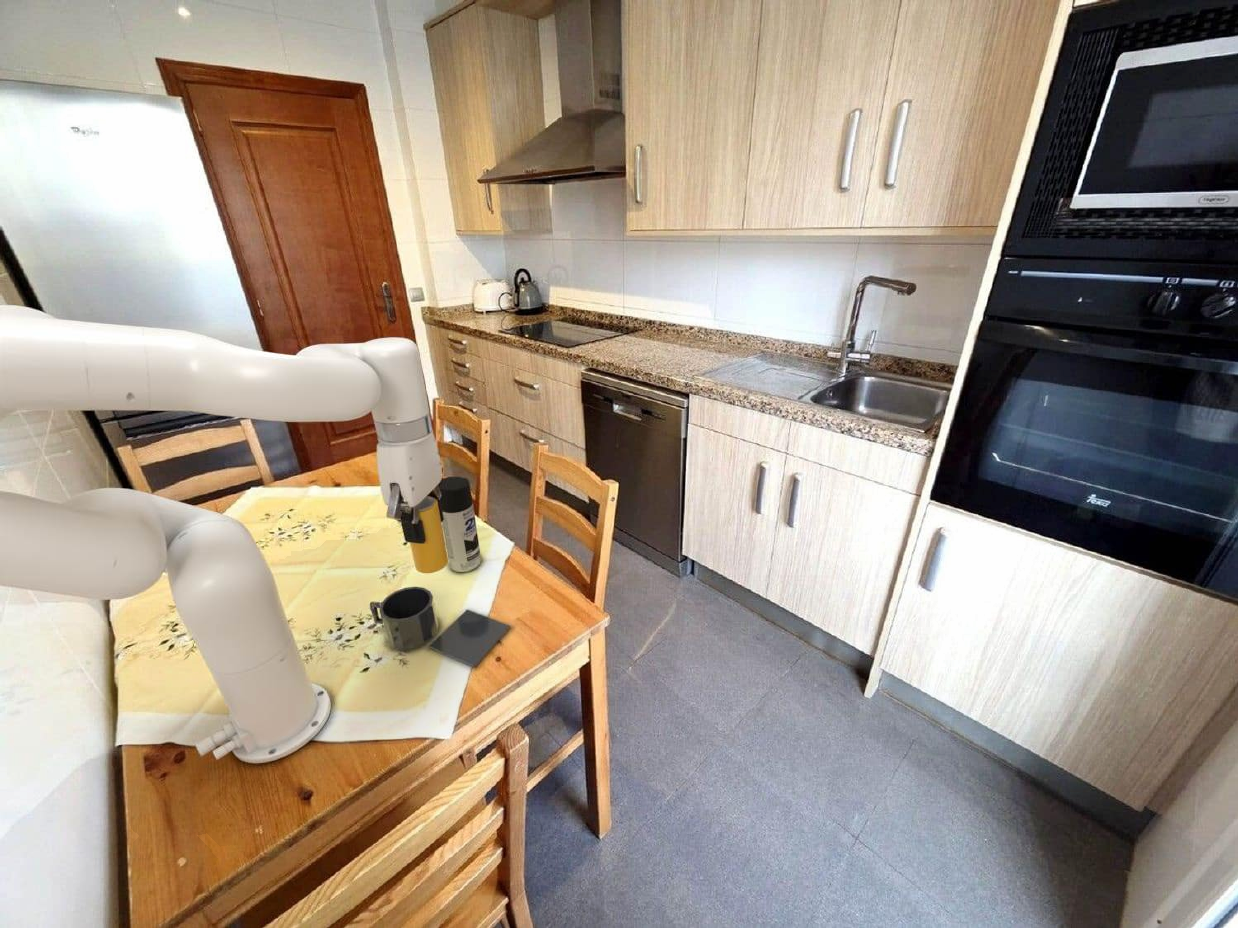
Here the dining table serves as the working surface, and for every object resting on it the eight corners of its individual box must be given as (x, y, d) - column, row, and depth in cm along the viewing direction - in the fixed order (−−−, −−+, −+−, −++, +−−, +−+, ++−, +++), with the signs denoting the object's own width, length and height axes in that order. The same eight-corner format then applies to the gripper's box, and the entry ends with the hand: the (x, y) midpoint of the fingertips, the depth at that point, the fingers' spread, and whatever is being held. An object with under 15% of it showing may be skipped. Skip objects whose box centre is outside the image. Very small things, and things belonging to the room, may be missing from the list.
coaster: (475, 668, 84) (474, 665, 84) (429, 648, 88) (428, 645, 87) (510, 628, 92) (510, 625, 92) (467, 611, 96) (467, 609, 96)
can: (426, 577, 80) (413, 515, 75) (409, 564, 83) (395, 504, 78) (454, 562, 84) (443, 501, 79) (436, 550, 87) (425, 491, 81)
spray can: (472, 575, 105) (460, 492, 97) (443, 571, 107) (428, 488, 98) (486, 556, 111) (476, 476, 102) (458, 552, 112) (445, 473, 104)
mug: (446, 619, 94) (441, 589, 91) (423, 654, 86) (416, 623, 83) (390, 611, 96) (382, 582, 93) (361, 645, 88) (353, 614, 85)
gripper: (410, 404, 80) (429, 502, 89) (342, 449, 65) (372, 561, 73) (455, 407, 79) (469, 505, 88) (395, 453, 64) (420, 566, 72)
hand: (425, 530), depth 80 cm, fingers closed on can, 5 cm apart
